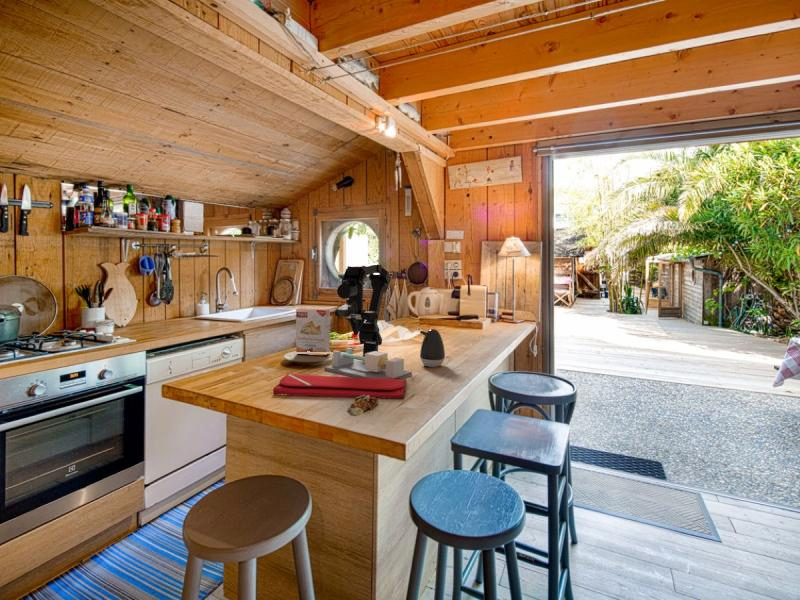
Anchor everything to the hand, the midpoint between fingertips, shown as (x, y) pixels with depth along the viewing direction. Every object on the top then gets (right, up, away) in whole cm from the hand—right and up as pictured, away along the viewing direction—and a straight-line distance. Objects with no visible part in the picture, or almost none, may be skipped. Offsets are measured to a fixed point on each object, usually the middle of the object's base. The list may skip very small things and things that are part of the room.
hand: (355, 335), depth 167 cm
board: (+5, -13, -9) cm, 17 cm away
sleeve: (+9, -12, -12) cm, 19 cm away
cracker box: (-21, -11, +20) cm, 31 cm away
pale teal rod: (+5, -10, -9) cm, 14 cm away
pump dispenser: (+31, -13, +3) cm, 33 cm away
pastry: (+7, -18, -48) cm, 52 cm away
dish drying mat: (-1, -16, -31) cm, 35 cm away
